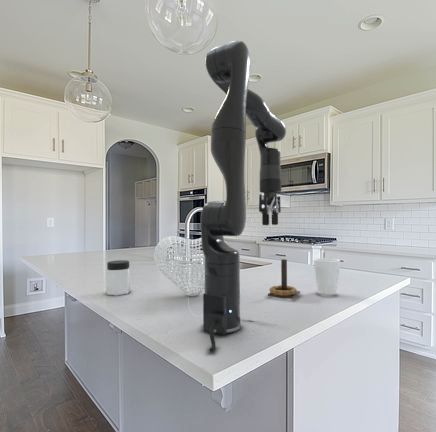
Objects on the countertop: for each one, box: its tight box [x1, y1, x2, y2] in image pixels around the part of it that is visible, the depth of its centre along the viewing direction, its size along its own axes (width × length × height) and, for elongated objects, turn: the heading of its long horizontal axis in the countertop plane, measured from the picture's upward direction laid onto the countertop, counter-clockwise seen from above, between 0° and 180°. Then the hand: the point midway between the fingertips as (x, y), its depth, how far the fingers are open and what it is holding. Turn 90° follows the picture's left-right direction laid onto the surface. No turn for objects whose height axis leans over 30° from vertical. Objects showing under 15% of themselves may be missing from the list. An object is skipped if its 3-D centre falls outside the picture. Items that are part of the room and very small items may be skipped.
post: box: [267, 258, 301, 300], centre depth 111 cm, size 9×9×14 cm
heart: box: [153, 235, 229, 297], centre depth 113 cm, size 28×16×22 cm, turn 94°
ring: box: [269, 285, 298, 296], centre depth 111 cm, size 10×10×2 cm
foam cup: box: [313, 257, 341, 296], centre depth 113 cm, size 10×9×13 cm
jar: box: [105, 259, 131, 297], centre depth 118 cm, size 9×8×12 cm
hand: (270, 224), depth 107 cm, fingers open, 8 cm apart
